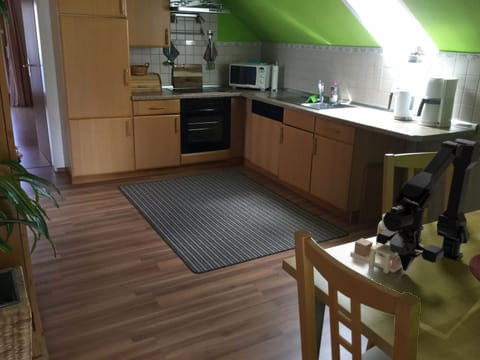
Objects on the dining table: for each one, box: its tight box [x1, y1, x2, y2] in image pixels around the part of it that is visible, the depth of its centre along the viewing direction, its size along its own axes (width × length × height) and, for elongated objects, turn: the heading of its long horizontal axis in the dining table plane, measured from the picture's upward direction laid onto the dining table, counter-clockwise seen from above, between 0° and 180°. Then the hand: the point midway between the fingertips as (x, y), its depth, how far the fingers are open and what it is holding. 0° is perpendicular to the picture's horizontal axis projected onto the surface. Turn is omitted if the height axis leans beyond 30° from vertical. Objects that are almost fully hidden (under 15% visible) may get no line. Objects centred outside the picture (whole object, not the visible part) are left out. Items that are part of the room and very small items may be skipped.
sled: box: [350, 237, 402, 273], centre depth 141 cm, size 5×16×5 cm, turn 43°
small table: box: [368, 241, 398, 274], centre depth 136 cm, size 9×30×7 cm, turn 43°
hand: (405, 270), depth 135 cm, fingers closed
